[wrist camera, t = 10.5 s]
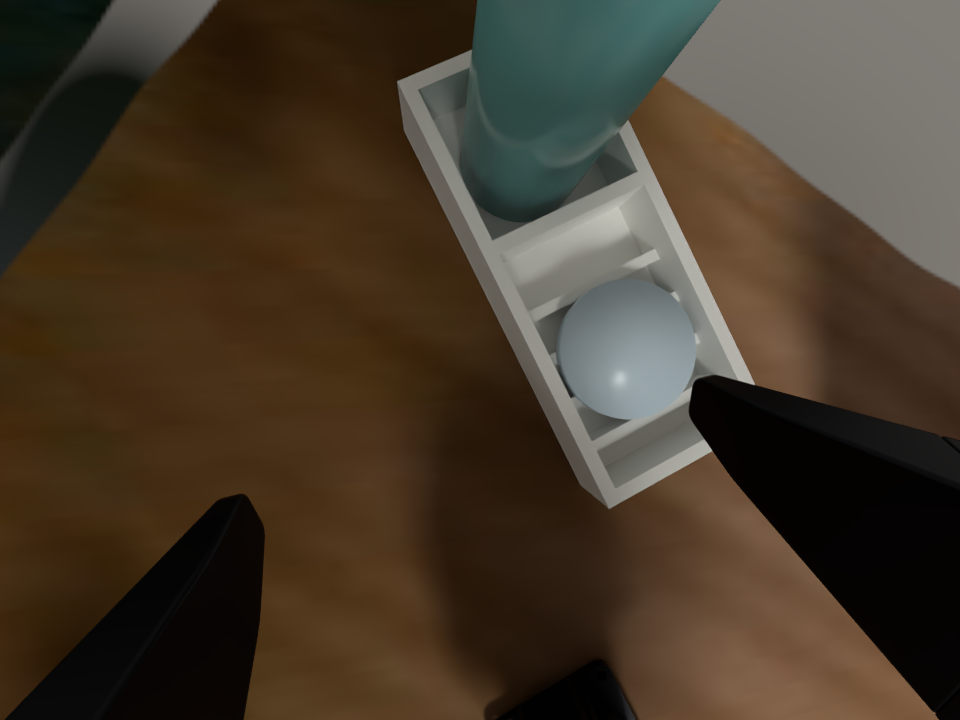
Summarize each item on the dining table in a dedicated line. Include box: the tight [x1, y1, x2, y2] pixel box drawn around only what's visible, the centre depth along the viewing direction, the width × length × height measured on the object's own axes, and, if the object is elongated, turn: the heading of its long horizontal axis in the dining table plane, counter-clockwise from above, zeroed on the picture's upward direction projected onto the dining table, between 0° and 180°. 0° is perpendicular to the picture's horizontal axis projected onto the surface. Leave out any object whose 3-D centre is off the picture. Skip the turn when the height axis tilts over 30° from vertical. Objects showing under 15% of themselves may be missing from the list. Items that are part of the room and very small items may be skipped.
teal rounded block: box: [460, 0, 720, 222], centre depth 13 cm, size 6×6×13 cm
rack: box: [397, 50, 755, 509], centre depth 19 cm, size 19×8×4 cm, turn 27°
